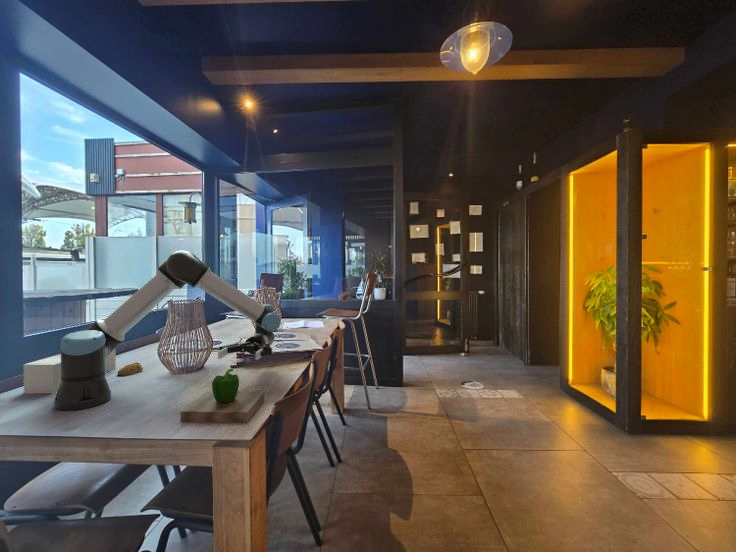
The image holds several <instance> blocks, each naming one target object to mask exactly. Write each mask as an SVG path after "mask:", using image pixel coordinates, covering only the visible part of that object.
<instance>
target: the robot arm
mask: <svg viewBox="0 0 736 552" xmlns="http://www.w3.org/2000/svg"><path fill="white" fill-rule="evenodd" d="M186 285H188V286H190V287H192V288H193V289H195V288H196V289H198V288H199V289H200V290H201V291H203V292H205V293H207V294H208V295H210V296H211V297H213V298H215V299H216V300H217V301H219V302H221V303H223V304H224V305H226V306H227V307H229V308H230V309H232V310H233V311H236V312H237V313H239V314H240V315H242V316H243V317H245V318H247V319H248V320H250V321H251V322H253V323H254V324H255V327H254V328H255V329H254V330H255V332H254V335H251V336H250V337H248V338H247V339H246V340H245V342H241V343H240V342H235V343H231V344H227V345H221V346H219V348H218V352H217V353H218V354H217V359H218V360H221V359H223V358H224V357H226V356H228V354H229V355H230V354H233V353H241V354H242V353H248V354H250V355H255V361H258V360H260V359H261V358H262V357H266V356H267V355H268V356H272V355H273V348H272V347H271V345H272V344H273V343H274V341H275V338H276V335H275V333H274V332H275V331H277V330H278V329H279V328H280V327H281V323H282V321H281V317H280V316H279V315H278V314H277V313H276V312H274V306H273V304H270V303H260V302H258V301H257V300H255V299H254V298H252V297H251V296H249V295H248V294H246V293H244V292H243V291H242V290H240V289H238V288H237V287H235V286H234V285H232V284H231V283H230V282H228V281H227V280H225V279H223V278H222V277H220V276H219V275H217V273H214V272H212V271H211V267H209V266H208V265H207V264H205V263H204V262H203V261H202V260H200V258H199V257H197V255H195V254H194V253H193V252H191V251H187V250H177V251H174V252H173V253H172V254H170V255H169V257H168V258H167V259H166V260H165V261H164V262H163V263H162V264H161V265H160V266H159V267H158V266H157V268H156V274H155V275H154V276H153V277H152V278H151V279H150V280H149V281H147V283H145V284H143V286H142V287H141V288H140V289H138V290H137V291H136V292H135V293H134V294H132V295H131V296H130V297H129V298H128V299H127V300H126V301H124V303H122V304H121V305H120V306H119V307H117V308H116V309H115V310H114V311H113V312H111V313H110V314H109V316H107V317H106V318H105V319H97V320H96V321H95V322H94V323H93V324H92V325H90V326H89V327H88V328H87V329H86V330H79V331H74V332H70V333H68V334H66V335H64V336H63V337H62V338H61V342H60V346H59V347H60V348H59V349H60V354H61V384H60V387H59V389H58V392H57V393H56V395H55V397H54V400H53V407H54V408H53V409H54V410H58V411H77V410H83V409H89V408H93V407H95V406H99V405H102V404H105V403H107V402H108V401H109V400H111V399H112V391H111V389H110V386H109V383H108V381H107V378H106V373H105V358H106V356H108V355H109V354H110V353H111V352H112V351H113V350H114V349H115V348H118V346H120V345H121V344H122V343H123V342H124V341H125V334H126V333H128V332H129V331H130V330H131V329H132V328H133V327H134V326H136V325H137V323H139V322H140V321H141V320H142V319H143V318H144V317H146V316H147V315H148V314H149V313H150V312H151V311H153V309H155V307H156V306H158V304H160V303H161V302H162V301H163V300H164V299H165V298H167V296H169V294H171V293H172V292H173V291H175V290H181V289H182V288H183V287H185V286H186Z"/></svg>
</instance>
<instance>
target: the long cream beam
mask: <svg viewBox="0 0 736 552" xmlns="http://www.w3.org/2000/svg"><path fill="white" fill-rule="evenodd" d="M116 348H117V347H116ZM116 348H115V349H114V350H113V351H112V352H111V353H110V354H109V355H108V356H106V358H105V372H106V373H109V372H111V371H113V370H116V369H117V368H116V367H117V363H116V357H117V356H116V352H117V350H116ZM22 369H23V394H25V395H26V394H31V395H32V394H35V393H51V395H53V394H57V393H56V392H58V389H59V387H60V384H61V353H58V354H56V355H52V356H49V357H45V358H42V359H38V360H35V361H31V362H27V363H25V364H24V363H23V368H22ZM108 371H109V372H108Z"/></svg>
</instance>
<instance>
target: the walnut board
mask: <svg viewBox="0 0 736 552" xmlns="http://www.w3.org/2000/svg"><path fill="white" fill-rule="evenodd" d="M264 401H265V391H259V390H258V391H247V390H242V391H241V390H238V392H237V395H236V397H235V399H234V401H232V402H229V403H223V402H217V401H216V400H215V397H214V394H213V390H206V391H205V392H204V393H202V394H201V395H200V396H199V397H198V398H196V399H194V400H193V401H192V402H191V403H190V404H189V405H187V406H186V407H184V408H183V409H182V410H180V414H179V415H180V417H179V419H180V422H193V421H195V423H196V422H198V421H200V422H199V423H201V422H202V423H203V421H205V422H204V423H206V422H209V423H210V422H212V423H213V422H214V423H248V422H249V420H251V418H252V416H253V415H254V414H255V413H256V411H257V410H258V409H259V408H260V406H261V405H262V403H264Z"/></svg>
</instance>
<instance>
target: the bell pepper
mask: <svg viewBox="0 0 736 552" xmlns="http://www.w3.org/2000/svg"><path fill="white" fill-rule="evenodd" d="M233 371H234V368H228V369H227V370H226V372H225V374H224V375H215V377H214V378H213V380H212V382H211V389H212V390H211V391H213V394H214V397H215V400H216V401H217V402H223V403H229V402H232V401H234V399H235V397H236V395H237V392H238V391H239V387H240V379H239V376H238V374H232V373H231V372H233Z"/></svg>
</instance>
